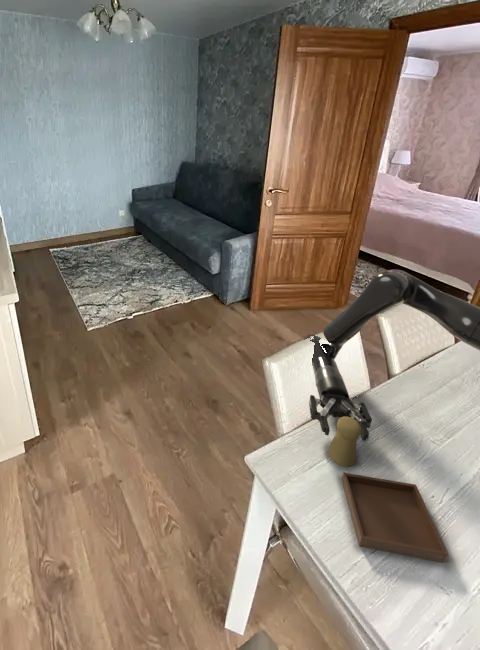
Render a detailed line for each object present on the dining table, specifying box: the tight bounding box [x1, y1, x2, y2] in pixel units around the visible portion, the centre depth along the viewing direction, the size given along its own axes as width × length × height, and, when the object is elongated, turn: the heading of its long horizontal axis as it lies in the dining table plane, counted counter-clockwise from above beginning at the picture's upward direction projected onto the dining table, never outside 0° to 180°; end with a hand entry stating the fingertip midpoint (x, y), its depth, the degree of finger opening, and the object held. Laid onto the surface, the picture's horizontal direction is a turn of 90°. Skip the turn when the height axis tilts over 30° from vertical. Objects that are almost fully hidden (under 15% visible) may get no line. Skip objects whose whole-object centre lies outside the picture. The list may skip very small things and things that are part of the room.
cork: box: [327, 416, 361, 468], centre depth 83 cm, size 6×6×11 cm
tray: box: [341, 472, 449, 564], centre depth 72 cm, size 15×13×2 cm
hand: (346, 435), depth 83 cm, fingers open, 8 cm apart
